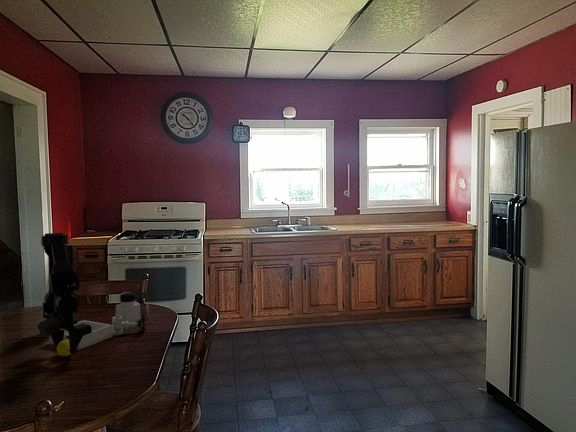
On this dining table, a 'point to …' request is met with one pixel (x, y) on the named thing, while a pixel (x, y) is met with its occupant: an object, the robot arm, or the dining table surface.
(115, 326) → the valve
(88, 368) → the dining table surface
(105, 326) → the walled box
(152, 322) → the dining table surface
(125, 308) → the medicine bottle
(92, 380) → the dining table surface
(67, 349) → the lemon
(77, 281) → the robot arm
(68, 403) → the dining table surface
